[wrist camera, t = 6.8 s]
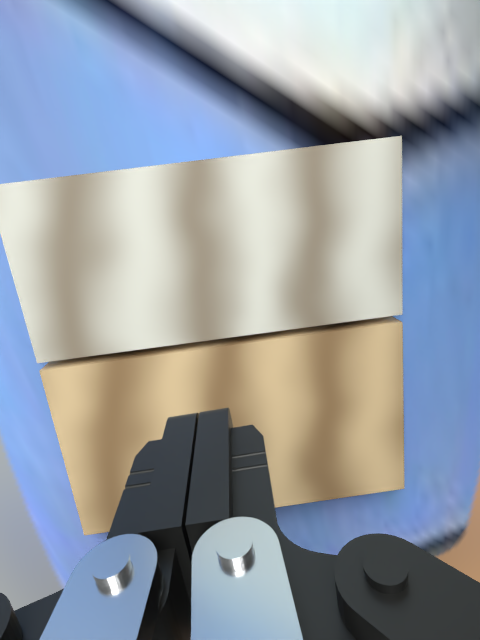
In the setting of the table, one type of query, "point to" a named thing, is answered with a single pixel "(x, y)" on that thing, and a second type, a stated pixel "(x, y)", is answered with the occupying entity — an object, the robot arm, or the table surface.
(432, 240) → the table surface
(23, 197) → the grey-washed plank
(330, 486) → the honey oak plank
